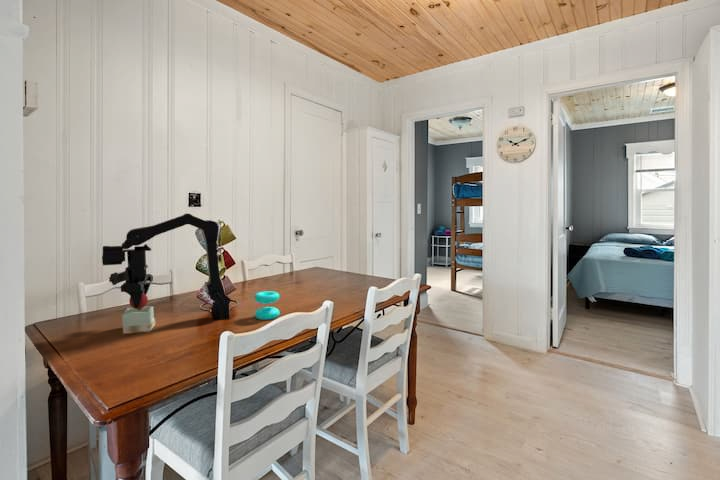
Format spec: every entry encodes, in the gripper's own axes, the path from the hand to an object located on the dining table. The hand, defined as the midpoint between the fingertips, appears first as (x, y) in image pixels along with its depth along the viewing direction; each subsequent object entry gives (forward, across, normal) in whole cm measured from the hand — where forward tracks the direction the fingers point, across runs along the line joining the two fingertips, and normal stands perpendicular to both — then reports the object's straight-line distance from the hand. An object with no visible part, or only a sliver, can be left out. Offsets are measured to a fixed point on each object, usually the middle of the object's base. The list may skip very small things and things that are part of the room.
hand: (139, 305), depth 137 cm
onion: (+2, 0, 0) cm, 2 cm away
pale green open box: (+6, 0, 0) cm, 6 cm away
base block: (+9, 0, 0) cm, 9 cm away
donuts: (+9, -3, +46) cm, 47 cm away
